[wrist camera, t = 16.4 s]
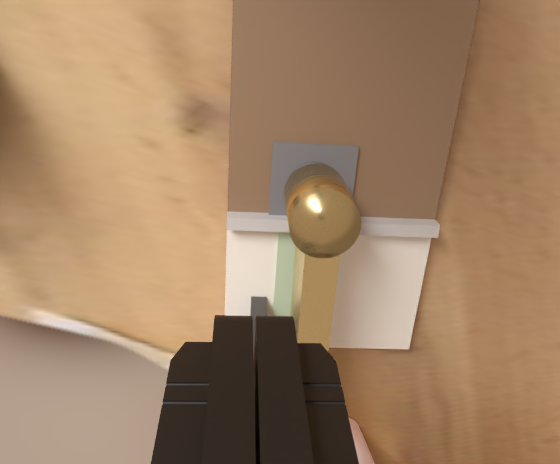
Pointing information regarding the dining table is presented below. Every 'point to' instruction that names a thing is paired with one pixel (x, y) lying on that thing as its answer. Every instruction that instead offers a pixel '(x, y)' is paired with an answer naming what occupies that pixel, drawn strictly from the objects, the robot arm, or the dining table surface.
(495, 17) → the dining table surface
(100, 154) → the dining table surface
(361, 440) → the smoothie
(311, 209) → the swing bar
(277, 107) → the door mockup
